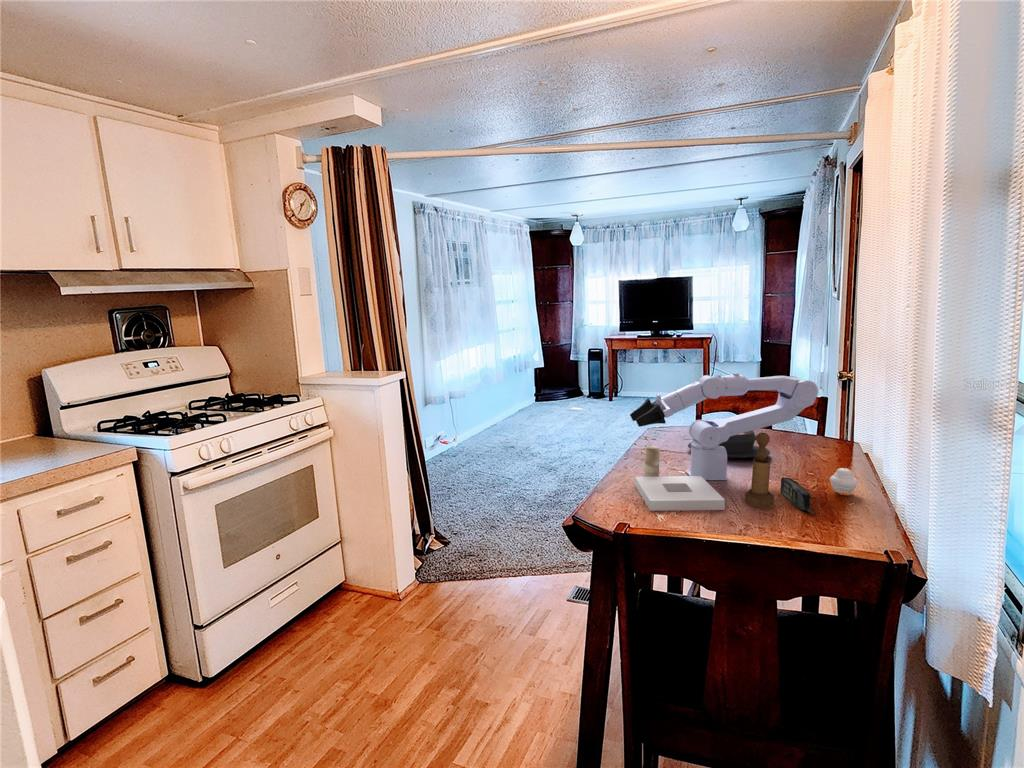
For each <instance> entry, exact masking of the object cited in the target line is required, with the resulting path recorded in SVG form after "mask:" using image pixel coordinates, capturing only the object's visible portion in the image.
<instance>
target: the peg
mask: <svg viewBox="0 0 1024 768" xmlns="http://www.w3.org/2000/svg"><path fill="white" fill-rule="evenodd" d="M644 447H645V448H644V476H643V477H656V476H660V453H661V452H660V451H661V449H660V446H657V445H646V446H644Z"/></svg>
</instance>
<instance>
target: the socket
mask: <svg viewBox="0 0 1024 768" xmlns="http://www.w3.org/2000/svg"><path fill="white" fill-rule="evenodd" d="M634 486H635V488H636V490H637V492H638V494H639V495H640V497H641V496H642V497H641V498H642V500H643V501H645V502H644V503H645V505H646V506H648V507H647V508H648V510H649V511H651V512H653V511H655V512H656V511H658V512H659V511H660V512H661V511H663V512H664V511H721V510H722V511H725V510H726V509H725V507H726V506H725V505H726V499H725V498H724V497H723V496H721V494H720V493H719V492H717V490H716V489H714V487H712V485H710V483H709V482H708V481H707V480H705V479H704V478H703V477H702V476H689V475H682V476H681V475H679V476H678V475H677V476H676V475H674V476H670V475H669V476H664V475H663V476H662V475H661V476H660V475H659V476H656V477H644V476H634Z"/></svg>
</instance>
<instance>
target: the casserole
mask: <svg viewBox="0 0 1024 768" xmlns="http://www.w3.org/2000/svg"><path fill="white" fill-rule="evenodd" d="M756 436H757V435H756V434H755V430H752V431H748V432H745V433H741V434H737V435H734V436H730V437H729V439H728V440H727V441H726V442H722V443H721V444H719V445H718V446H724V447H725V449H726V452H727V459H728V458H732V459H733V460H734V458H738V459H743V458H758V454H757V450H758V449H759V445H758V446H757V445H755V441H756ZM691 443H692V441H691V442H689V443H688V444H687V447H688V448H689V449H690V450H691ZM765 449H766V451H767V455H766V457H767V456H769V455H770V454H771V451H770V450H769V449H768V448H766V447H765Z"/></svg>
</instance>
